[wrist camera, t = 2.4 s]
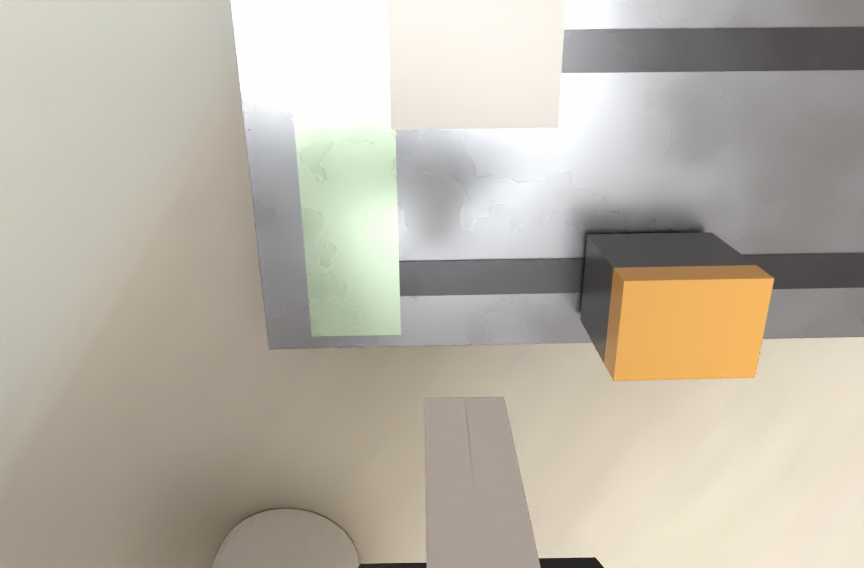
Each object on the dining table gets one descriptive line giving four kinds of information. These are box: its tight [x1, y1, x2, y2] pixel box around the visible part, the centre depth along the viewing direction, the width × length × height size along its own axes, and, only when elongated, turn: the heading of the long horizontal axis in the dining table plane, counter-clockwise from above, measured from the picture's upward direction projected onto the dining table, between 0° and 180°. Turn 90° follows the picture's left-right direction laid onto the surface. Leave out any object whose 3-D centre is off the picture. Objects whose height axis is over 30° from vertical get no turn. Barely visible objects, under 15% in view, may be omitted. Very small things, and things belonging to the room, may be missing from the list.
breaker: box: [387, 0, 566, 130], centre depth 17 cm, size 4×3×4 cm
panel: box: [231, 0, 864, 349], centre depth 20 cm, size 25×19×2 cm
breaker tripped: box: [580, 232, 774, 381], centre depth 20 cm, size 4×3×4 cm
